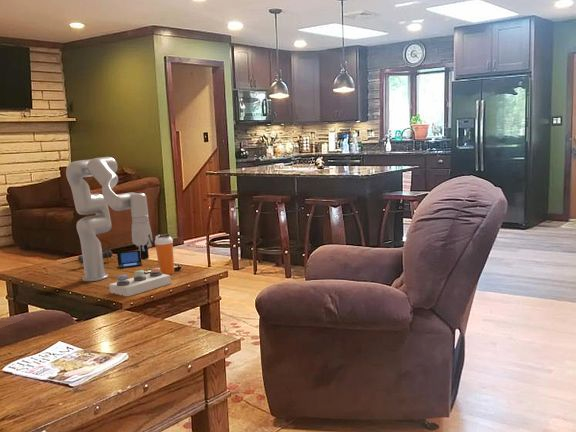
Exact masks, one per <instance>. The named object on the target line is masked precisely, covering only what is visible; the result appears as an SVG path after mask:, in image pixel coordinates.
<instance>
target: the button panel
mask: <svg viewBox="0 0 576 432" xmlns="http://www.w3.org/2000/svg"><path fill="white" fill-rule="evenodd" d="M170 284H172V279H171V274H170V275H166V274H162V272H161V271H160V272H158V273H151V272H148V273H144V275H141V276H133V277H130V278H128V279H127V280H122V281H119V280H118V281H116V282H112V283H109V284H108V285H109V287H108V288H109V293H110V294H113V293H115V294H114V295H118V294H119V295H118V296H122V295H123V297H126V296H127V297H131V296H134V295H138V294H142V293H144V292H148V291H150V290H155V289H157V288H161V287H165V286H168V285H170Z"/></svg>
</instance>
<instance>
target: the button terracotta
mask: <svg viewBox="0 0 576 432" xmlns="http://www.w3.org/2000/svg"><path fill="white" fill-rule="evenodd" d="M158 272H160V268H159V267H152V268H150V273H158Z"/></svg>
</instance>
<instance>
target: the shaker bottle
mask: <svg viewBox="0 0 576 432" xmlns="http://www.w3.org/2000/svg"><path fill="white" fill-rule="evenodd" d="M173 241H174V239H173V238H172V237H171V233H165V234H161V233H159V234H157V235H155V240H154V245H155V251H156V255H157V256H156V257H157V262H158V268H160V271H161V272H162V274H166V275H170V276H171V275H173V274H174V273H175V260H174V247H173V243H174V242H173Z"/></svg>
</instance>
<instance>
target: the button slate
mask: <svg viewBox="0 0 576 432" xmlns="http://www.w3.org/2000/svg"><path fill="white" fill-rule="evenodd" d="M127 279H129V277H128V274H120V275H117V281H118V282H119V281H123V280H127Z"/></svg>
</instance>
